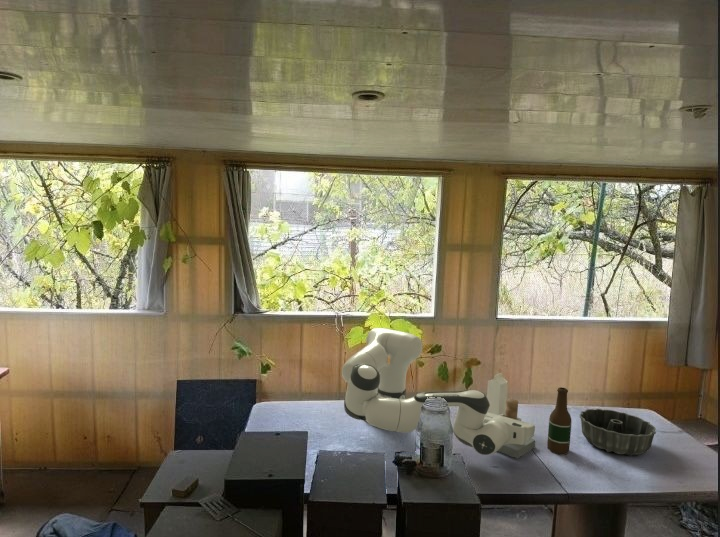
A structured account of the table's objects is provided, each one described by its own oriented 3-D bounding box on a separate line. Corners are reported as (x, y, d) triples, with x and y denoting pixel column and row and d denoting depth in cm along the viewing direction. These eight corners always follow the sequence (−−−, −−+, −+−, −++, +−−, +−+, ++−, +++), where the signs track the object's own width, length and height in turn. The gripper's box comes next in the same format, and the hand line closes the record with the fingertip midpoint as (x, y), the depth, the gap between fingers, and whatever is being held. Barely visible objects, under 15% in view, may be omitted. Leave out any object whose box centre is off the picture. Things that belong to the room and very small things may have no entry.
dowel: (501, 441, 181) (503, 400, 180) (507, 438, 184) (509, 398, 183) (511, 445, 178) (514, 403, 177) (517, 442, 181) (520, 401, 180)
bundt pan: (607, 427, 204) (609, 404, 203) (669, 454, 180) (672, 429, 179) (562, 436, 192) (564, 412, 192) (623, 467, 169) (625, 440, 168)
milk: (505, 425, 202) (509, 374, 200) (497, 428, 198) (501, 377, 196) (492, 420, 206) (496, 370, 204) (484, 424, 202) (488, 373, 200)
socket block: (483, 445, 182) (483, 437, 181) (501, 435, 192) (501, 427, 191) (517, 458, 172) (517, 450, 172) (534, 447, 182) (535, 439, 181)
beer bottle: (559, 456, 175) (564, 393, 173) (542, 447, 182) (547, 386, 179) (573, 452, 178) (578, 390, 176) (556, 444, 185) (561, 384, 183)
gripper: (471, 430, 176) (484, 419, 188) (527, 446, 165) (538, 433, 176) (472, 413, 176) (485, 403, 187) (528, 428, 164) (539, 416, 175)
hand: (511, 418), depth 181 cm, fingers closed on dowel, 4 cm apart
